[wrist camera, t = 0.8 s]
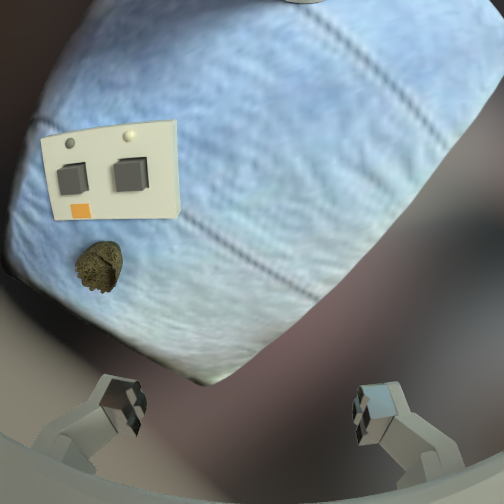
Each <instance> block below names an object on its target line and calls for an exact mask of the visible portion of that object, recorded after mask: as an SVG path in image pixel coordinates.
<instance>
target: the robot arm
mask: <svg viewBox="0 0 504 504" xmlns="http://www.w3.org/2000/svg"><path fill="white" fill-rule="evenodd" d="M285 1H289V2H295V3H316V2H321V1H324V0H285ZM141 387H142V386H141V384H140V382H139V381H137V380H131V379H125V378H121V377H116V376H111V375H106V374H104V375H103V376H102V377H101V378H100V380H99V382H98V383H97V385H96V387H95V389H94V391H93V392H92V394H91V396H90V398H89V400H88V401H87V403H86V402H83V403H82V404H80V405H78V406H77V407H75V408H73V409H71V410H70V411H68V412H66V413H65V414H63V415H61V416H59V417H58V418H56V419H54V420H53V421H51V422H49V423H47V424H46V425H44V426H43V427H42V429H41V430H40V432H39V434H38V436H37V437H36V439H35V441H34V443H33V445H32V446H31V448H29V447H27V446H25V445H23V444H21V443H20V442H18V441H16V440H14V439H12V438H10V437H9V436H7V435H5V434H4V433H2V432H0V504H232V503H220V502H210V501H202V500H195V499H188V498H182V497H176V496H170V495H166V494H161V493H155V492H151V491H147V490H143V489H138V488H135V487H131V486H127V485H124V484H120V483H117V482H113V481H110V480H107V479H104V478H101V477H98V476H95V473H96V467H95V466H94V465H93V464H92V463H91V462H90V461H89V458H90V457H91V456H93V455H94V454H95V453H96V452H98V451H99V450H100V449H101V448H102V447H104V446H105V445H106V444H107V443H108V442H110V441H111V440H112V439H113V438H114V437H115V436H117V433H119V434H124V435H128V436H133V437H137V435H138V432H139V429H140V427H141V422H140V420H139V419H140V418H142V417H143V416H145V413H146V409H147V399H146V396H145V394H144V393H143V392H141ZM357 395H358V397H357V398H356V399H355V400H354V403H353V407H352V408H353V409H352V417H353V422H354V423H355V424H356V425H357V426H358V427H357V429H356V436H357V440H358V445H366V444H375V443H380V445H381V446H382V447H383V448H384V449H385V450H386V451H387V452H388V453H389V454H390V455H391V456H392V457H393V459H394V460H395V461H397V463H398V464H399V465H400V466H401V467H402V468H403V469H404V470H405V471H406V473H405V474H404V475H403V477H402V478H401V479H400V480H399V481H398V482H397V488H398V490H395V491H391V492H386V493H382V494H377V495H372V496H366V497H360V498H354V499H347V500H341V501H332V502H322V503H310V504H504V451H502V452H500V453H498V454H496V455H494V456H492V457H490V458H488V459H486V460H484V461H481V462H479V463H477V464H474V465H472V466H470V467H467V468H465V465H464V463H463V460H462V457H461V455H460V452H459V450H458V447H457V445H456V442H454V441H453V440H451V439H450V438H449V437H447V436H446V435H445V434H443V433H442V432H440V431H439V430H438V429H436V428H435V427H433V426H432V425H431V424H429V423H428V422H426V421H425V420H424V419H422V418H421V417H420V416H418V415H417V414H416V413H411V412H410V409H409V407H408V404H407V401H406V399H405V396H404V394H403V391H402V389H401V386H400V384H399V383H398V382H389V383H380V384H372V385H364V386H360V387H359V388H358V390H357Z"/></svg>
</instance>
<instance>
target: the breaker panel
mask: <svg viewBox="0 0 504 504" xmlns="http://www.w3.org/2000/svg"><path fill="white" fill-rule="evenodd" d="M41 146H42V154H43V161H44V168H45V174H46V180H47V186H48V191H49V196H50V201H51V206H52V210H53V215H54V219H55V220H83V219H149V218H177V217H178V215H179V213H180V211H181V207H180V192H179V174H178V152H177V119H171V120H156V121H144V122H134V123H124V124H116V125H108V126H101V127H94V128H87V129H81V130H75V131H70V132H64V133H59V134H54V135H50V136H47V137H44V138H42V139H41ZM134 157H147V167H148V179H149V185H148V186H147V187H146V188H145V189H144V190H143V191H126V192H117V191H116V183H115V175H114V166H113V164H114V163H116V162H118V161H119V160H121V159H124V158H134ZM80 162H85V163H86V171H87V178H88V185H89V189H87V190H86V191H85V192H83V193H82V194H72V195H61V194H60V188H59V183H58V177H57V170H58V169H60V168H61V167H63V166H65V165H67V164H72V163H80Z"/></svg>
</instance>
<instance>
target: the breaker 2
mask: <svg viewBox="0 0 504 504" xmlns="http://www.w3.org/2000/svg"><path fill="white" fill-rule="evenodd" d="M113 166H114V175H115V183H116V191H117V192H126V191H143V190H144V189H145V188H146V187H147V186H148V185H149V179H148V167H147V157H138V158H124V159H121V160H119V161H118V162H116V163H114V164H113Z"/></svg>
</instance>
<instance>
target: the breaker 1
mask: <svg viewBox="0 0 504 504" xmlns="http://www.w3.org/2000/svg"><path fill="white" fill-rule="evenodd" d="M57 177H58V183H59V188H60V194H61V195H72V194H82V193H83V192H85V191H86V190H87V189H89V185H88V178H87V171H86V163H85V162H82V163H74V164H67V165H65V166H63V167H61V168H60V169H58V170H57Z"/></svg>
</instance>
